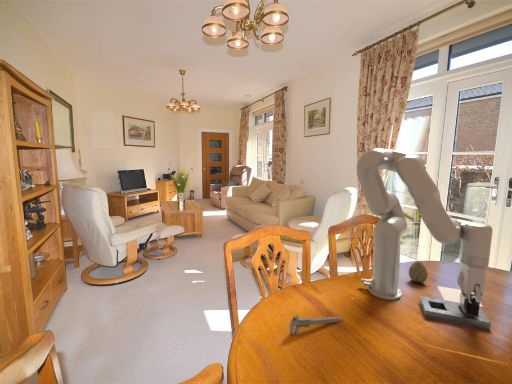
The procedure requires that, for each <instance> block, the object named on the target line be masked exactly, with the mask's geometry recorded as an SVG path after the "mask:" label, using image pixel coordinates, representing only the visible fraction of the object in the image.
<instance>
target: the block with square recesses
mask: <svg viewBox="0 0 512 384" xmlns="http://www.w3.org/2000/svg"><path fill="white" fill-rule="evenodd" d="M419 304H420V307H421V309H422V310H421V311H422V313H423V315H424V318H428V319H432V320H438V321H442V322H447V323H448V322H449V323H451V324H453V323H454V324H458V325H463V326H468V327H473V328H480V329H482V330H483V329H484V330H488V331H491V325H492V322H491V321H490V320H489V318H488V317H487V315H486V314H485V313H484V311H483V310H482V307H479V314H478V316H473V315H468V314H462V312H461V311H460V309H459V306H460V303H457V302H451V301H445V300H444V299H440V298H439V299H438V298H432V297H427V296H422V295H420V297H419Z"/></svg>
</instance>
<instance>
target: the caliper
mask: <svg viewBox="0 0 512 384" xmlns="http://www.w3.org/2000/svg"><path fill="white" fill-rule="evenodd" d="M342 321H343V319H342V318H341V317H339V316H332V317H331V316H330V317H320V318H319V317H318V318H310V317H305V318H304V317H302V318H299V316H298V315H296V316H292V318H291V320H290V324H289V334H290V335H291V336H292V335H294V334H295V335H298V334H299V332H300V330H301V328H310V326H313V325H321V324H335V323H339V322H342Z"/></svg>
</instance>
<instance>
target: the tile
mask: <svg viewBox="0 0 512 384" xmlns="http://www.w3.org/2000/svg"><path fill="white" fill-rule="evenodd" d="M436 289H438V291H439V293H440V295H441V297H442V298H443V299H442V300H445V301H451V302H457V303H460V294H461V288H460V289H458V288H452V287H447V286H439V285H438V286H436ZM471 294H474V292H472V293H471ZM479 307H480V308H484V306H483V305H482V303H481V302H480V306H479Z"/></svg>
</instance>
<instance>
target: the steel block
mask: <svg viewBox="0 0 512 384" xmlns="http://www.w3.org/2000/svg"><path fill="white" fill-rule="evenodd" d="M471 297H472V299H473V298H475V296H471ZM467 302H468V294H465V293H462V292H461V296H460V306H459V309H460V311H461V312H462V314H467V313H466V307H467ZM468 315H471V314H468ZM473 316H478V315H473Z"/></svg>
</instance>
